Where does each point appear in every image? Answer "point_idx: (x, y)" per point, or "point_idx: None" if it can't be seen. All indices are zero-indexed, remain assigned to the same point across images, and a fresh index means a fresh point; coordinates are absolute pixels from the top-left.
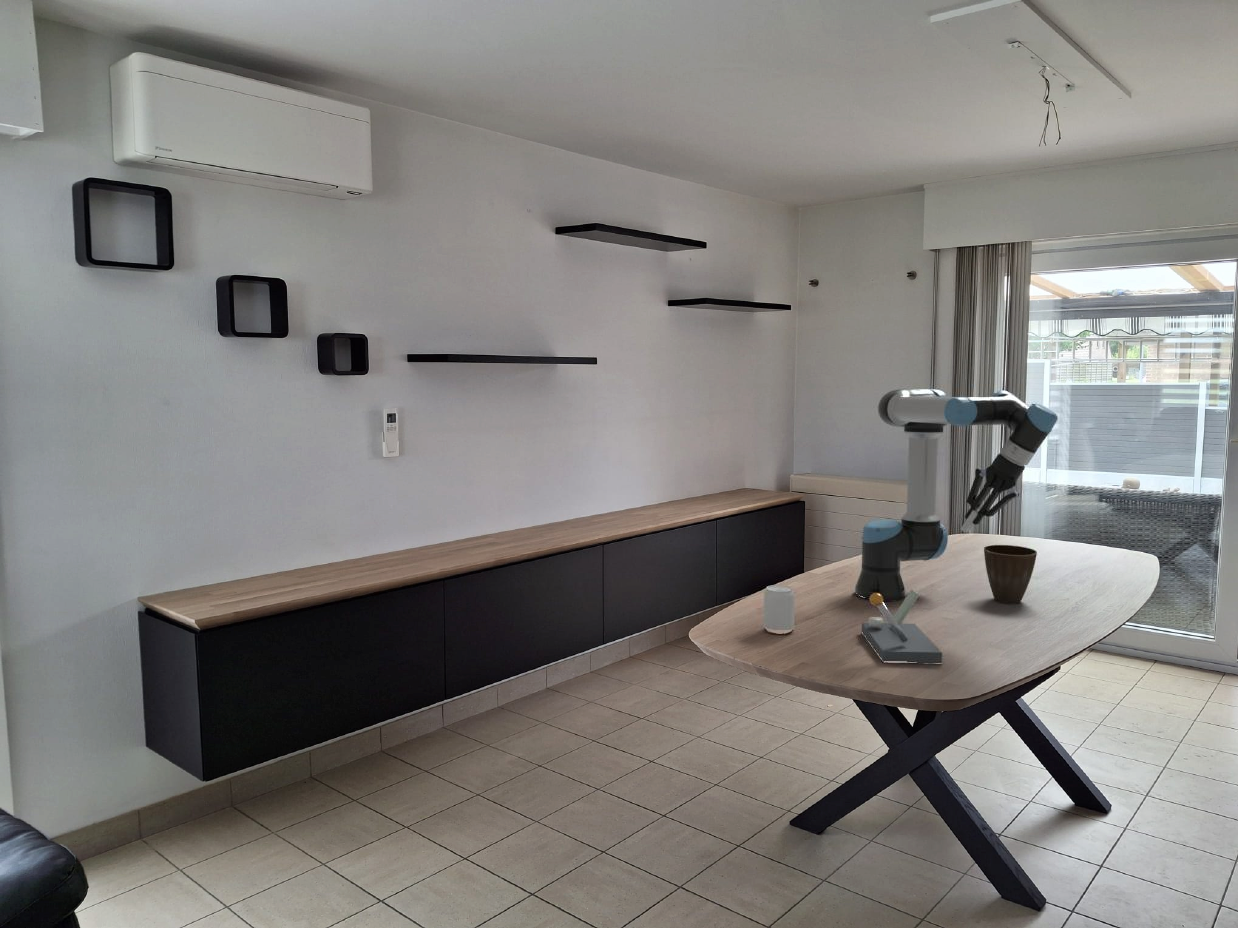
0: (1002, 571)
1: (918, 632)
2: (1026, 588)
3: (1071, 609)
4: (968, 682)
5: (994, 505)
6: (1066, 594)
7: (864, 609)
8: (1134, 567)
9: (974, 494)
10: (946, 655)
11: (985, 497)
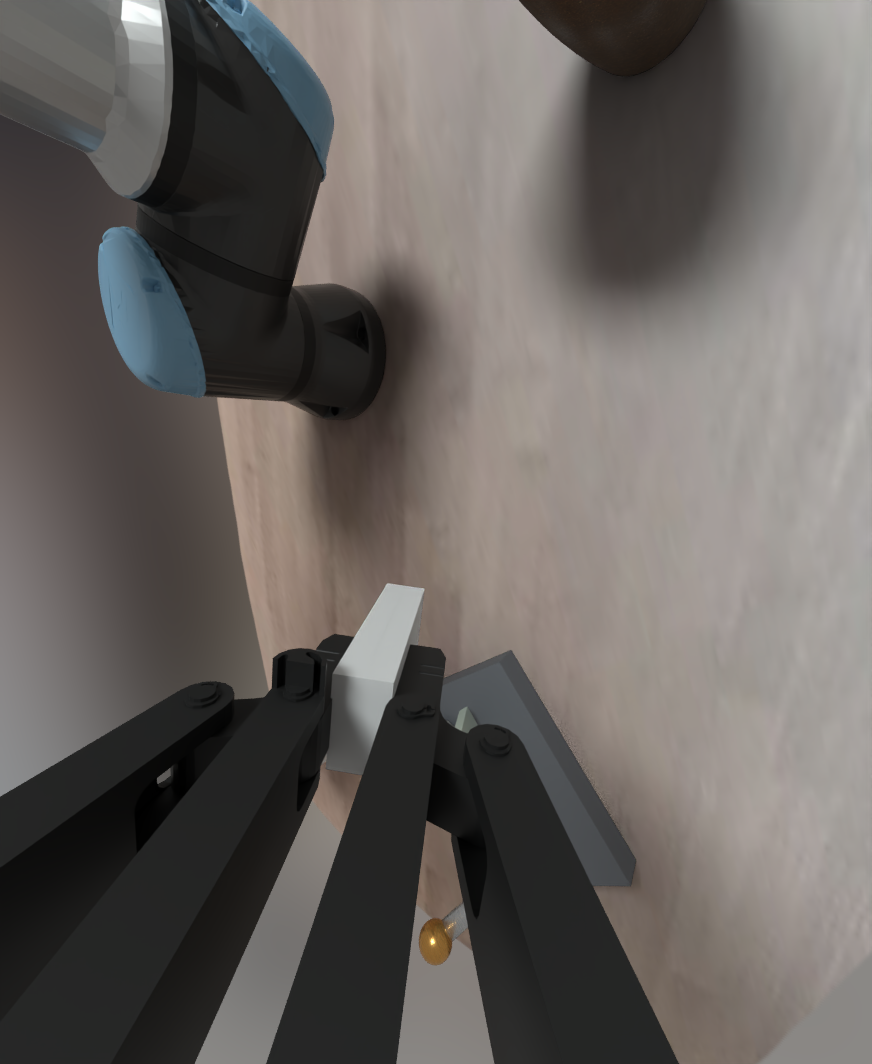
0: (610, 4)
1: (531, 735)
2: None
3: None
4: (732, 981)
5: (492, 1046)
6: None
7: (367, 505)
8: None
9: (119, 873)
10: (626, 791)
11: (236, 855)
